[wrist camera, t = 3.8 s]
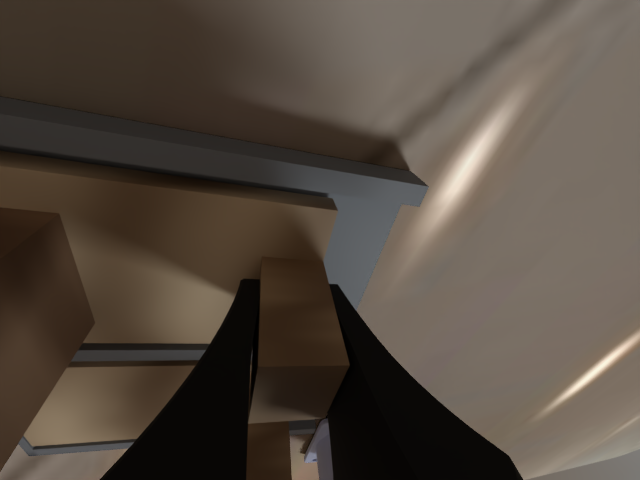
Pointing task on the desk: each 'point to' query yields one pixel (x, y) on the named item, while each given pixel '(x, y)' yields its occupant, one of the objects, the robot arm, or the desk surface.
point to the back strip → (139, 410)
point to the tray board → (227, 167)
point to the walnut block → (35, 316)
